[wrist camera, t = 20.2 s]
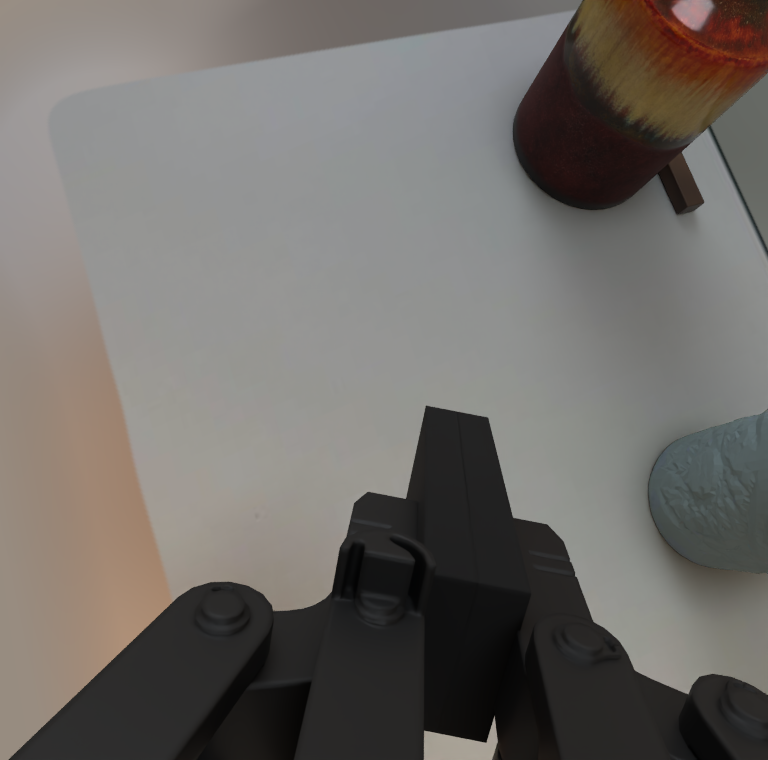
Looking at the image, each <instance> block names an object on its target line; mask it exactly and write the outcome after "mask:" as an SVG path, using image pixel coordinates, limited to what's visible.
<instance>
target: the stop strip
mask: <svg viewBox="0 0 768 760" xmlns="http://www.w3.org/2000/svg"><path fill="white" fill-rule="evenodd" d="M659 174H660V177H661V179H662V181H663V183H664V185H665V188H666V190H667V192H668V194H669V197H670V199H671V201H672V203H673V206H674V208H675V210H676V212H677V214H682V213H686V212H690V211H694V210H695V209H697V208H698V207H699V206H701V205H702V204H703V203H704V200H703V198H702V196H701V194H700V191H699V189H698V187H697V185H696V183H695V180H694V178H693V176H692V174H691V172H690V170H689V167H688V165H687V163H686V161H685V159H684V156H683V154H682V152H680V153H679V154H678V155H677V156H676V157H675V158H674V159H673V160H672V161H671V162H669V163H668V164H667V165H666V166H665V167H664V168H663V169H662V170H661V171H659Z"/></svg>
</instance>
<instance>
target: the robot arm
mask: <svg viewBox="0 0 768 760" xmlns="http://www.w3.org/2000/svg"><path fill="white" fill-rule="evenodd" d="M494 715H495V722H496V730H497V738H498V743H497V746H496V749H495V753H494V756H493V759H492V760H768V695H766V694H765V693H763V692H762V691H760V690H759V689H757V688H756V687H754V686H752V685H750V684H748V683H746V682H742V681H740V680H738V679H735V678H733V677H728V676H722V675H716V674H711V675H706V676H701V677H699V678H698V679H697V680H696V682H695V683H694V684H693V685H692V687H691V690H690V692H689V694H685V693H683V692H681V691H678V690H676V689H674V688H671V687H669V686H666V685H664V684H662V683H659V682H657V681H655V680H652V679H650V678H648V677H646V676H644V675H642V674H640V673H638V672H636V671H635V670H634V668H633V666H632V663H631V661H630V659H629V656H628V654H627V653H626V651H625V649H624V648H623V646H622V645H621V643H620V642H619V641H618V640H617V639H616V638H615V637H614V636H613V635H612V634H610V633H609V632H608V631H607V630H606V629H605V628H603V627H601V626H599V625H597V624H596V623H594V622H593V620H592V617H591V614H590V612H589V609H588V606H587V604H586V601H585V598H584V596H583V593H582V590H581V588H580V585H579V582H578V579H577V577H575V571H574V569H573V566H572V563H571V562H570V558H569V555H568V552H567V550H566V547H565V544H564V542H563V541H562V539H561V538H560V537H559V536H558V535H557V534H556V533H555V532H554V531H553V530H552V529H551V528H550V527H549V526H548V525H547V524H542V523H537V522H532V521H526V520H521V519H516V518H513V516H512V512H511V508H510V504H509V500H508V496H507V492H506V488H505V484H504V480H503V476H502V472H501V468H500V464H499V460H498V456H497V452H496V448H495V444H494V440H493V436H492V431H491V427H490V423H489V419H488V418H487V417H482V416H477V415H472V414H466V413H461V412H456V411H451V410H446V409H440V408H435V407H430V406H426V408H425V413H424V418H423V422H422V427H421V432H420V436H419V441H418V446H417V450H416V455H415V460H414V464H413V469H412V474H411V478H410V483H409V488H408V492H407V497H406V499H403V498H397V497H392V496H387V495H382V494H377V493H371V492H367V493H366V494H365V495H363V496H362V497H361V498H360V499H359V500H357V501H356V502H355V503H354V507H353V511H352V515H351V520H350V524H349V528H348V533H347V537H346V538H345V540H344V542H343V543H342V545H341V547H340V551H339V556H338V562H337V567H336V573H335V578H334V584H333V589H332V592H331V593H330V594H329V595H328V596H327V598H326V599H324V600H322V601H321V602H319V603H317V604H316V605H313V606H310V607H307V608H304V609H298V610H290V611H273V610H272V605H271V604H270V603H269V601H268V600H267V599H266V598H265V596H264V595H263V594H262V593H260V592H258V591H256V590H254V589H253V588H251V587H249V586H246V585H242V584H237V583H233V582H210V583H207V584H204V585H200V586H197V587H193V588H191V589H190V590H188V591H187V592H185V593H184V594H182V595H181V596H179V597H178V598H177V599H176V600H175V601H174V602H173V603H172V604H170V606H169V607H167V609H165V610H164V611H163V612H162V613H161V614H160V615H159V616H158V617H157V618H156V619H155V620H154V621H153V622H152V623H151V624H150V625H149V626H148V627H147V628H146V629H144V630H143V631H142V632H141V633H140V634H139V635H138V636H137V637H136V638H135V639H134V640H133V641H132V642H131V643H130V644H129V645H128V646H127V647H126V648H125V649H124V650H122V651H121V652H120V653H119V654H118V655H117V656H116V657H115V658H114V659H113V660H112V661H111V662H110V663H109V664H108V665H107V666H106V667H105V668H104V669H103V670H102V671H101V672H100V673H98V674H97V675H96V676H95V677H94V678H93V679H92V680H91V681H90V682H89V683H88V684H87V685H86V686H85V687H84V688H83V689H82V690H81V691H80V692H79V693H78V694H77V695H76V696H75V697H74V698H72V699H71V700H70V701H69V702H68V703H67V704H66V705H65V706H64V707H63V708H62V709H61V710H60V711H59V712H58V713H57V714H56V715H55V716H54V717H53V718H52V719H50V721H48V722H47V723H46V724H45V725H44V726H43V727H42V728H41V729H40V730H39V731H38V732H37V733H36V734H35V735H34V736H33V737H32V738H31V739H30V740H29V741H27V742H26V743H25V744H24V745H23V746H22V747H21V748H20V749H19V750H18V751H17V752H16V753H15V754H14V755H13V756H12V757H11V758H10V759H9V760H424V730H425V731H430V732H435V733H440V734H445V735H450V736H455V737H460V738H465V739H470V740H475V741H480V742H485V743H486V742H487V739H488V735H489V732H490V729H491V725H492V722H493V719H494Z"/></svg>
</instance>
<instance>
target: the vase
mask: <svg viewBox="0 0 768 760" xmlns="http://www.w3.org/2000/svg"><path fill="white" fill-rule="evenodd" d="M767 73H768V0H583V1H582V3H581V4H580V6H579V7H578V9H577V11H576V12H575V14H574V16H573V17H572V19H571V21H570V22H569V24H568V25H567V27H566V29H565V30H564V32H563V34H562V35H561V37H560V39H559V40H558V42H557V44H556V45H555V47H554V48H553V50H552V52H551V53H550V55H549V57H548V58H547V60H546V62H545V63H544V65H543V67H542V68H541V70H540V71H539V73H538V75H537V76H536V78H535V80H534V81H533V83H532V85H531V86H530V88H529V90H528V91H527V93H526V95H525V96H524V98H523V100H522V101H521V103H520V105H519V107H518V109H517V112H516V116H515V119H514V125H513V140H514V144H515V149H516V152H517V155H518V157H519V160H520V162H521V163H522V165H523V167H524V169H525V170H526V172H527V173H528V174H529V176H530V177H531V178H532V180H533V181H534V182H535V183H536V184H537V185H538V186H539V187H540V188H542V189H543V190H544V191H545V192H547V193H548V194H549V195H551V196H552V197H554V198H556V199H557V200H559V201H561V202H564V203H566V204H568V205H571V206H575V207H579V208H584V209H605V208H609V207H613V206H616V205H618V204H620V203H622V202H624V201H626V200H627V199H629V198H630V197H632V196H633V195H634V194H635V193H636V192H637V191H638V190H640V189H641V188H642V187H643V186H644V185H645V184H646V183H647V182H648V181H650V180H651V179H652V178H653V177H654V176H655V175H656V174H657V173H658V172H659V171H661V170H662V169H663V168H664V167H665V166H666V165H667V164H668V163H669V162H671V161H672V160H673V159H674V158H675V157H676V156H677V155H678V154H679V153H680V152H682V151H683V150H684V149H685V148H686V147H687V146H688V145H689V144H690V143H692V142H693V141H694V140H695V139H696V138H697V137H698V136H699V135H700V134H701V133H703V132H704V131H705V130H706V129H707V128H708V127H709V126H710V125H711V124H712V123H714V122H715V121H716V120H717V119H718V118H719V117H720V116H721V115H722V114H723V113H725V112H726V111H727V110H728V109H729V108H730V107H731V106H732V105H733V104H734V103H735V102H737V101H738V100H739V99H740V98H741V97H742V96H743V95H744V94H745V93H747V92H748V91H749V90H750V89H751V88H752V87H753V86H754V85H755V84H756V83H758V82H759V81H760V80H761V79H762V78H763V77H764V76H765V75H766V74H767Z"/></svg>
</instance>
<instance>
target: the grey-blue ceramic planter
mask: <svg viewBox="0 0 768 760" xmlns="http://www.w3.org/2000/svg"><path fill="white" fill-rule="evenodd" d="M648 491H649V502H650V508H651V512H652V516H653V518H654V521H655V524H656V526H657V527H658V529H659V531H660V533H661V535H662V536H663V537H664V539H665V540H666V541H667V542H668V543H669V544H670V546H671V547H672V548H673V549H674V550H676V551H677V552H678V553H679V554H680V555H682V556H684V557H685V558H687V559H688V560H690V561H692V562H694V563H696V564H699V565H702V566H706V567H711V568H718V569H725V570H738V571H744V572H750V573H758V574H759V573H767V574H768V409H767V410H766V411H765V412H764V413H762V414H760V415H753V416H750V417H744V418H740V419H737V420H734V421H733V422H729V423H726V424H723V425H720V426H716V427H712V428H709V429H706V430H703V431H700V432H697V433H694V434H692V435H689V436H686V437H683V438H681V439H679V440H677V441H675V442H673V443H672V444H671V445H670V446H668V447H667V448H666V450H665V451H664V452H663V453H662V454H661V455H660V457H659V458H658V460H657V462H656V464H655V466H654V467H653V472H652V473H651V476H650V480H649V488H648Z"/></svg>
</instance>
